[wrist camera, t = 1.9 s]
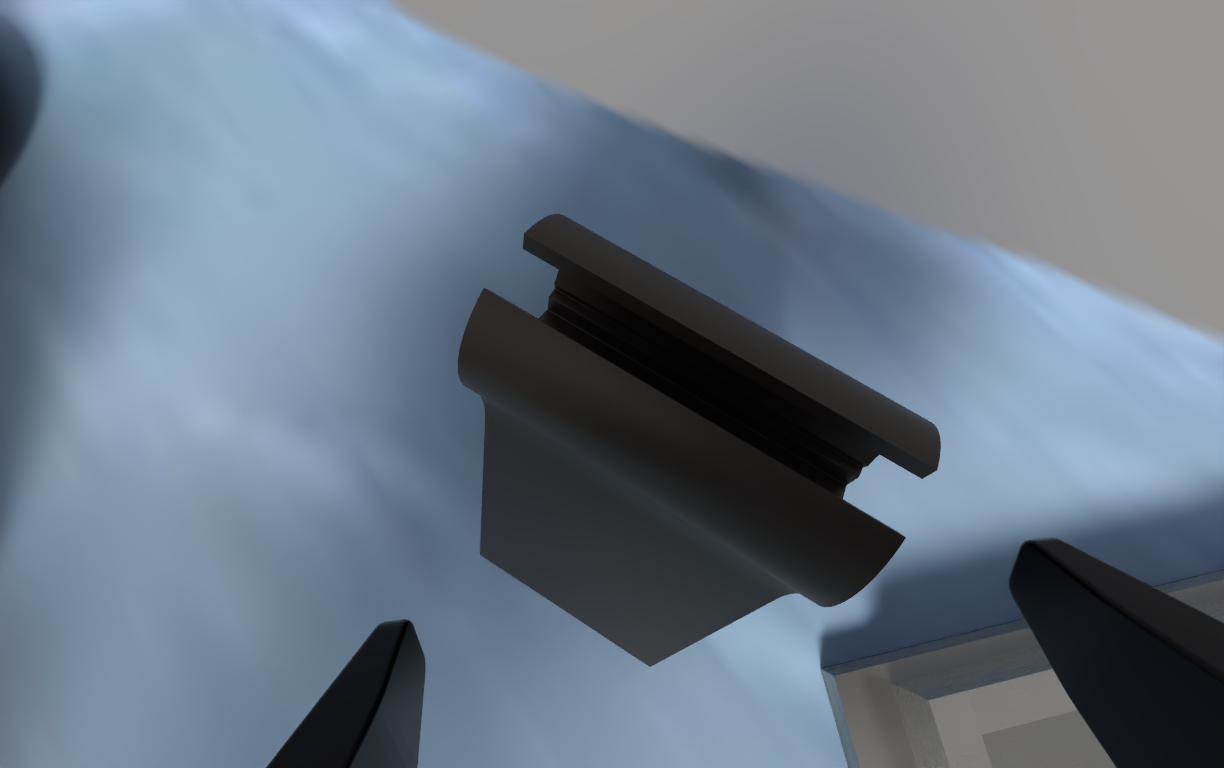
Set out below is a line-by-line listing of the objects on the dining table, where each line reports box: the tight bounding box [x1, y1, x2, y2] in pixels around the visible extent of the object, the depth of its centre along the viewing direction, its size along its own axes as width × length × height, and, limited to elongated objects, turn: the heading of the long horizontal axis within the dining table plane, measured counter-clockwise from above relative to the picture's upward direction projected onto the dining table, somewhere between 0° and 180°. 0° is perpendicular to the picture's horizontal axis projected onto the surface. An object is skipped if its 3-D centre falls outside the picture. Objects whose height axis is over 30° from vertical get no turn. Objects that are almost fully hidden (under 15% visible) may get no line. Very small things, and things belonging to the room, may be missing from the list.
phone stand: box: [458, 214, 941, 667], centre depth 13 cm, size 9×6×12 cm, turn 148°
